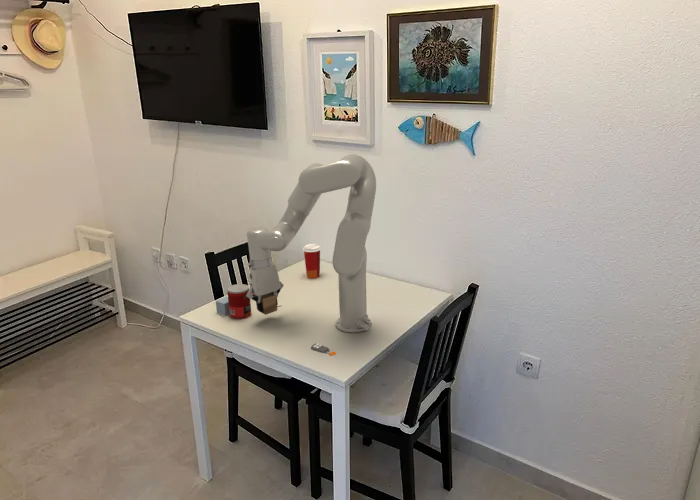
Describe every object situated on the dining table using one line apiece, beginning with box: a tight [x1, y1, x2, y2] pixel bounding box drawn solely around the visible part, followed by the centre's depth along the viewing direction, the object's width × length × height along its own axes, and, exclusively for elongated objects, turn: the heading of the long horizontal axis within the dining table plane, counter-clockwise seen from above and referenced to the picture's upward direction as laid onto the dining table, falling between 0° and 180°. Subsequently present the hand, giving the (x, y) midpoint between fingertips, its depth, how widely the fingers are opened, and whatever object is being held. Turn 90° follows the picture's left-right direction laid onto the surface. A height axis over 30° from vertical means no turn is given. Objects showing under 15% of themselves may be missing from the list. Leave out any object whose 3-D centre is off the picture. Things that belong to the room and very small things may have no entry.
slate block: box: [215, 295, 230, 317], centre depth 203 cm, size 5×5×5 cm
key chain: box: [310, 343, 338, 358], centre depth 173 cm, size 13×4×2 cm, turn 53°
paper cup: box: [302, 243, 322, 280], centre depth 233 cm, size 8×8×14 cm
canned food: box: [226, 283, 252, 320], centre depth 199 cm, size 8×8×11 cm
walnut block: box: [261, 293, 278, 316], centre depth 194 cm, size 5×5×6 cm
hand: (267, 308), depth 195 cm, fingers closed on walnut block, 5 cm apart
